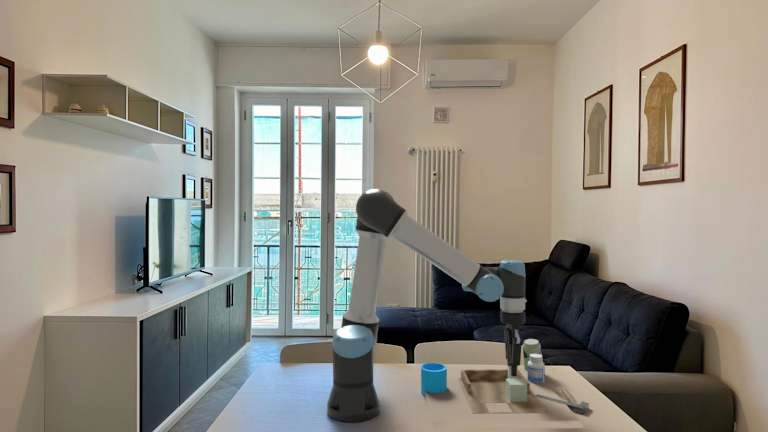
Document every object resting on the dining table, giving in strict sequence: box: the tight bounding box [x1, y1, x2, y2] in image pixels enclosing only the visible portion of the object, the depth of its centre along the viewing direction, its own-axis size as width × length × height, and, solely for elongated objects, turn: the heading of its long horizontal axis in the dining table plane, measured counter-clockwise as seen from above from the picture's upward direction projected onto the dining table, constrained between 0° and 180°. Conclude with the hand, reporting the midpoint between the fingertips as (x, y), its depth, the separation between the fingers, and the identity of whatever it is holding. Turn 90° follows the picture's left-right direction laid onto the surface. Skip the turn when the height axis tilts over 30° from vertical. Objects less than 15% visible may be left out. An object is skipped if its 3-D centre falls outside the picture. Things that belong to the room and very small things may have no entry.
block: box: [506, 379, 527, 402], centre depth 141 cm, size 5×5×5 cm
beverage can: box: [522, 338, 542, 372], centre depth 165 cm, size 6×7×12 cm
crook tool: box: [535, 393, 590, 415], centre depth 140 cm, size 5×14×2 cm, turn 49°
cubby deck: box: [457, 368, 549, 414], centre depth 144 cm, size 21×26×4 cm
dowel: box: [561, 388, 580, 405], centre depth 142 cm, size 2×12×2 cm, turn 175°
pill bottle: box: [527, 354, 546, 384], centre depth 155 cm, size 6×5×10 cm
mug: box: [420, 362, 448, 397], centre depth 151 cm, size 12×8×8 cm
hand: (512, 385), depth 147 cm, fingers closed
